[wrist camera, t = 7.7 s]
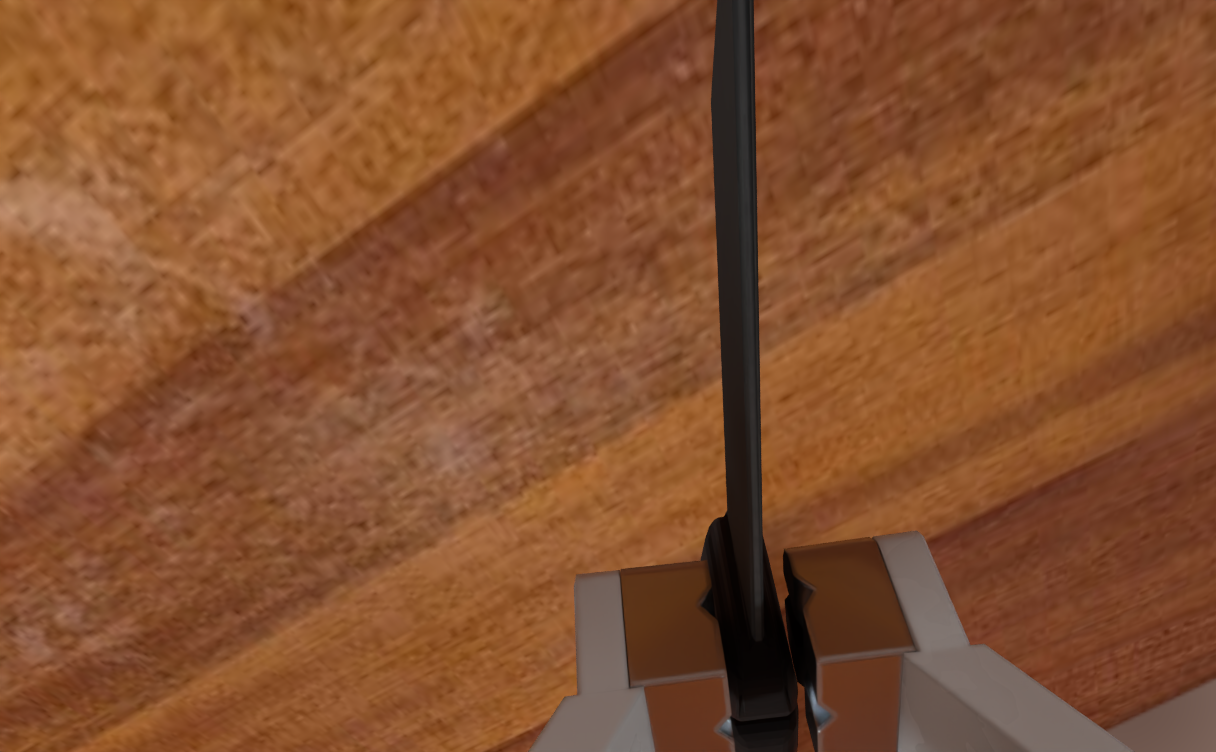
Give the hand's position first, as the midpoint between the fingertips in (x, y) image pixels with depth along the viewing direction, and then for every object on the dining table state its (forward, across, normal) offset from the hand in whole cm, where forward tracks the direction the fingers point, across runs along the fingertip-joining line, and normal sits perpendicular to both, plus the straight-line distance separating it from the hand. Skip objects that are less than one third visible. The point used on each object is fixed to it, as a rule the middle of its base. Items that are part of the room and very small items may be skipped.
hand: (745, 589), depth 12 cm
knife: (+2, 0, 0) cm, 2 cm away
